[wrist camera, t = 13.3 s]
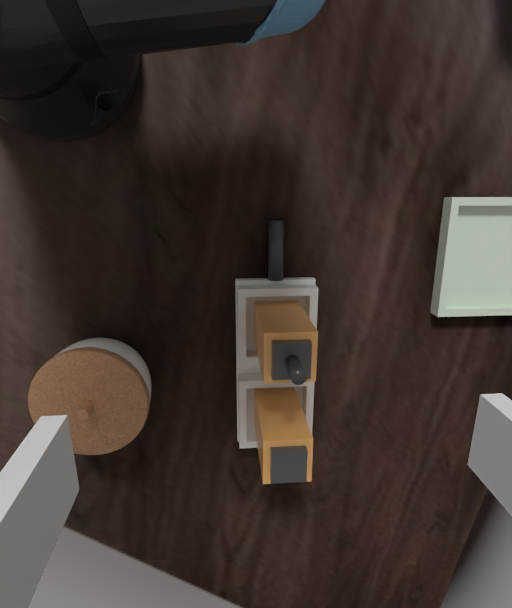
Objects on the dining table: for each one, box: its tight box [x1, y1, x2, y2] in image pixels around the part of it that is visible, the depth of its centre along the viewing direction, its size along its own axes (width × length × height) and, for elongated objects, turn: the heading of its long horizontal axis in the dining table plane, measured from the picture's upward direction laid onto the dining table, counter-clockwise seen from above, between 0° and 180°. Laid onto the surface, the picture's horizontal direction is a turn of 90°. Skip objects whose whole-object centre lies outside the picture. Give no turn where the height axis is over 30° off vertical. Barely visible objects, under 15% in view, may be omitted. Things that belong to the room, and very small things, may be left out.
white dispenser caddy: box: [235, 220, 318, 448], centre depth 39 cm, size 25×8×15 cm, turn 0°
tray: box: [430, 197, 512, 317], centre depth 45 cm, size 13×13×2 cm
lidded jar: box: [28, 337, 152, 455], centre depth 41 cm, size 11×11×9 cm
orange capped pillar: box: [254, 387, 313, 484], centre depth 42 cm, size 4×4×11 cm
